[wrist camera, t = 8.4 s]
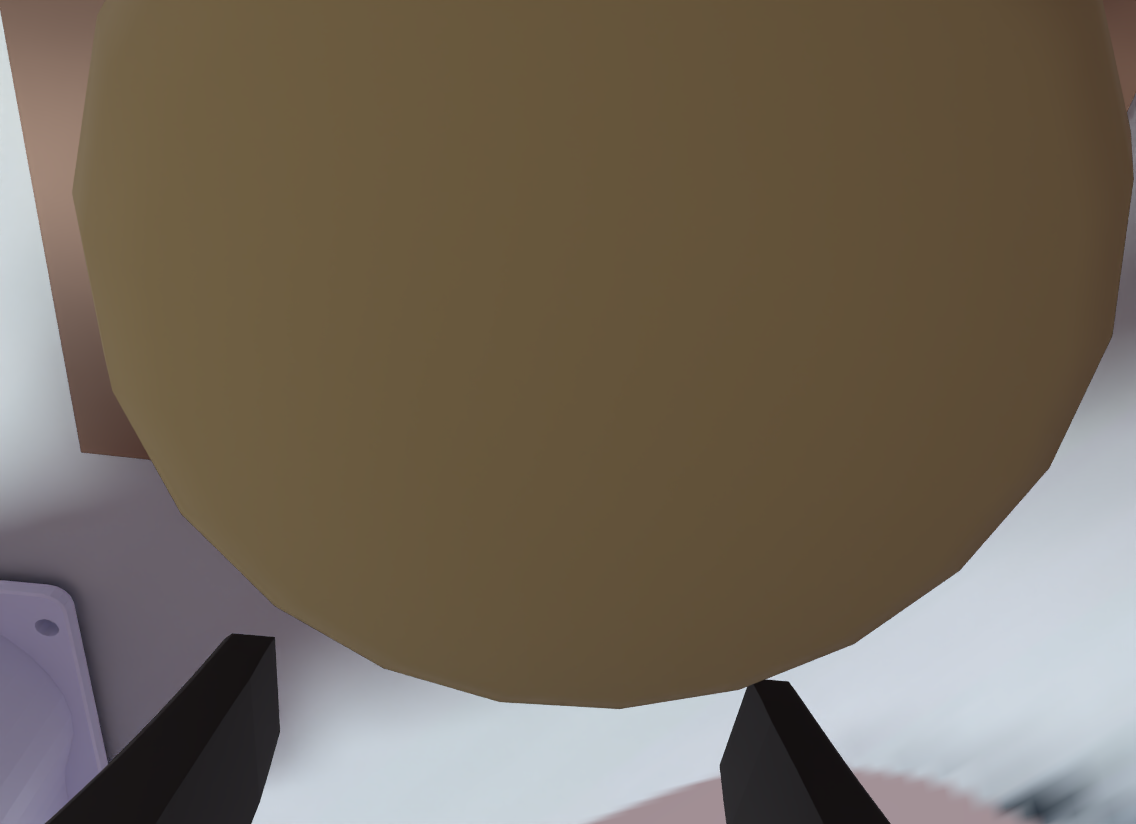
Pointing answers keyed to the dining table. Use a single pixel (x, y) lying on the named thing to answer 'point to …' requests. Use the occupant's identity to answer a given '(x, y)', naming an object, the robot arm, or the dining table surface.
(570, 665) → the cork
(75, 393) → the framed serving tray
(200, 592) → the dining table surface
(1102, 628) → the dining table surface
